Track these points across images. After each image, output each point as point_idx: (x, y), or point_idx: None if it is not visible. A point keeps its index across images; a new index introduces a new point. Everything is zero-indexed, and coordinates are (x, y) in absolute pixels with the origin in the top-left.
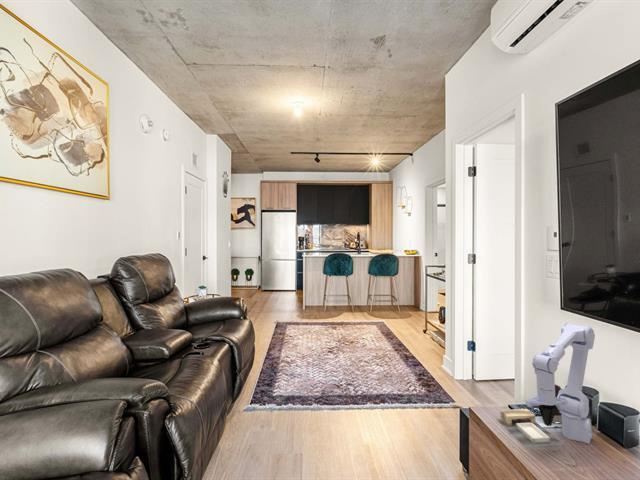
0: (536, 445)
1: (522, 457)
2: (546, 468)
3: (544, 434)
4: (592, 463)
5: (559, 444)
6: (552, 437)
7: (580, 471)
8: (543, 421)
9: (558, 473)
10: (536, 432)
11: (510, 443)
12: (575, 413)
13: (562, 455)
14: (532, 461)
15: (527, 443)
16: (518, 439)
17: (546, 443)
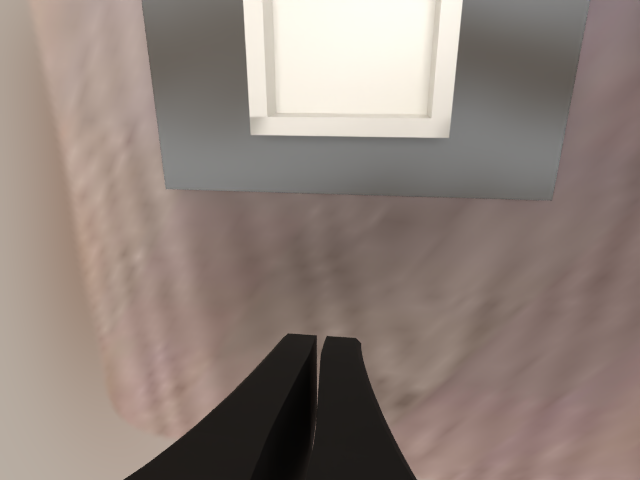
0: (275, 159)
1: (104, 269)
2: (207, 396)
3: (436, 53)
4: (563, 403)
5: (512, 166)
6: (555, 13)
7: None
8: (275, 347)
9: None
10: None
11: (79, 55)
12: None
13: (422, 288)
14: (154, 321)
15: (210, 114)
16: (155, 26)
17: None
